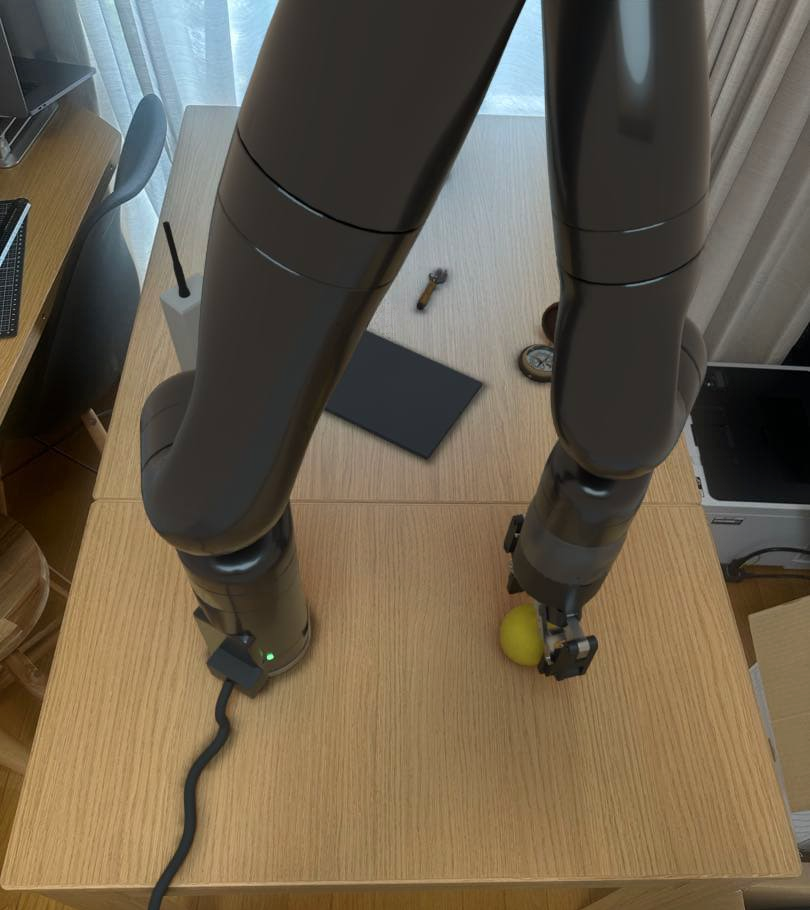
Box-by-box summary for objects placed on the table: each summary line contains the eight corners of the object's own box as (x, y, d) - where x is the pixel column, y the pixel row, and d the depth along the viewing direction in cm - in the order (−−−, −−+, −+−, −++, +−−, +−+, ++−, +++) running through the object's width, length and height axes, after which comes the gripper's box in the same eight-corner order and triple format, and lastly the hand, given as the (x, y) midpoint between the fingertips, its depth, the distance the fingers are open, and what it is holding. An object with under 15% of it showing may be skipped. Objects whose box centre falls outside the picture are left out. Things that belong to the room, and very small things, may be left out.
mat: (427, 460, 87) (427, 457, 86) (273, 385, 92) (273, 381, 91) (482, 385, 93) (482, 382, 93) (335, 319, 99) (335, 316, 98)
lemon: (546, 682, 73) (564, 649, 66) (490, 670, 73) (503, 637, 66) (551, 631, 76) (569, 595, 69) (498, 621, 76) (510, 584, 69)
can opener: (422, 311, 100) (423, 304, 99) (407, 305, 100) (407, 298, 99) (451, 273, 104) (452, 266, 103) (436, 267, 105) (437, 261, 104)
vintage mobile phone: (243, 400, 90) (204, 216, 69) (211, 422, 88) (161, 240, 67) (223, 384, 92) (179, 199, 70) (191, 405, 90) (136, 221, 68)
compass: (508, 368, 95) (518, 325, 89) (541, 335, 99) (552, 291, 92) (562, 398, 93) (576, 355, 87) (593, 363, 96) (608, 319, 90)
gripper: (493, 476, 60) (472, 574, 74) (558, 632, 53) (521, 708, 67) (579, 459, 61) (542, 558, 75) (653, 609, 54) (597, 687, 68)
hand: (532, 628), depth 71 cm, fingers open, 8 cm apart
